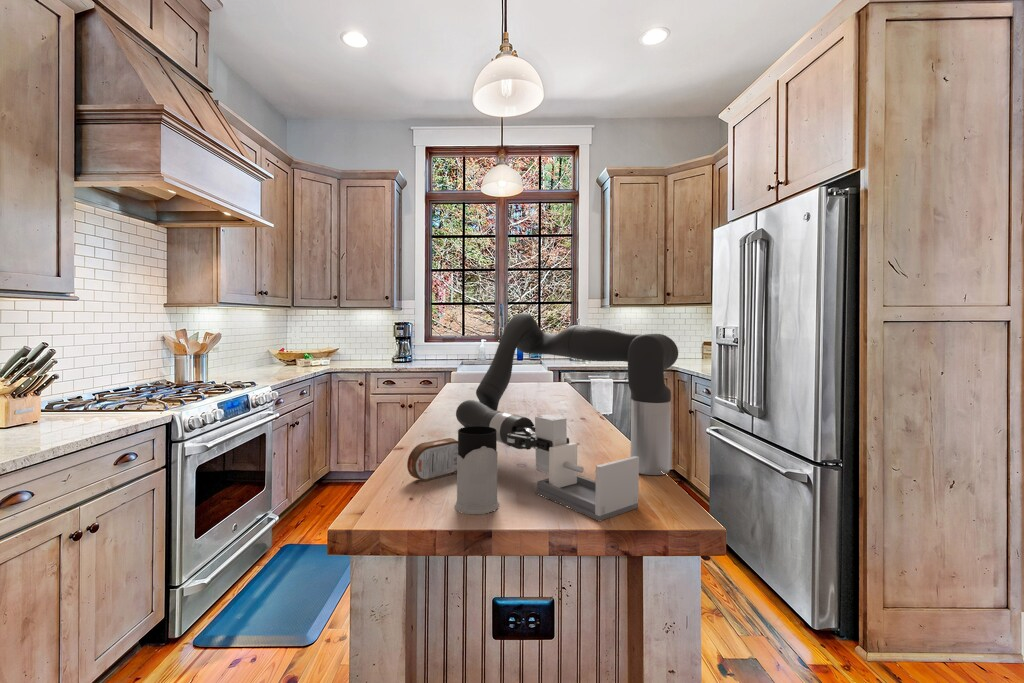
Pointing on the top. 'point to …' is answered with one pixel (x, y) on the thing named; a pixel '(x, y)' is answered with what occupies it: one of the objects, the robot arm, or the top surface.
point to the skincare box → (549, 437)
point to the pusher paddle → (563, 465)
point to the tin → (433, 459)
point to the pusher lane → (599, 490)
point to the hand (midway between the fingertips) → (559, 444)
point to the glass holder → (477, 470)
